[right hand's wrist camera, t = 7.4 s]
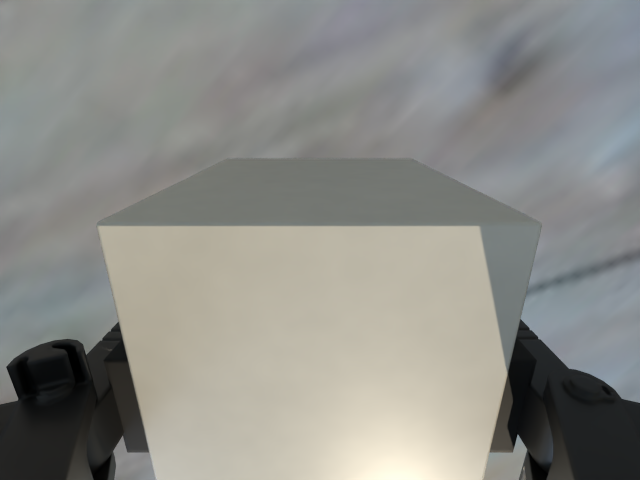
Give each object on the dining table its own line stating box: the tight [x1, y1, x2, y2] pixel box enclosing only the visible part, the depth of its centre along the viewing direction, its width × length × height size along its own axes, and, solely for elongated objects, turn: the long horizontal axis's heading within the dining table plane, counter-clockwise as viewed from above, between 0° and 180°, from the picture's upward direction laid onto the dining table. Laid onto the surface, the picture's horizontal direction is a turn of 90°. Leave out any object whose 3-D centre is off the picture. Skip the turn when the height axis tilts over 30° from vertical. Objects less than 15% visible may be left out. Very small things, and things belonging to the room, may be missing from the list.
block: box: [97, 159, 542, 480], centre depth 12 cm, size 8×9×9 cm
